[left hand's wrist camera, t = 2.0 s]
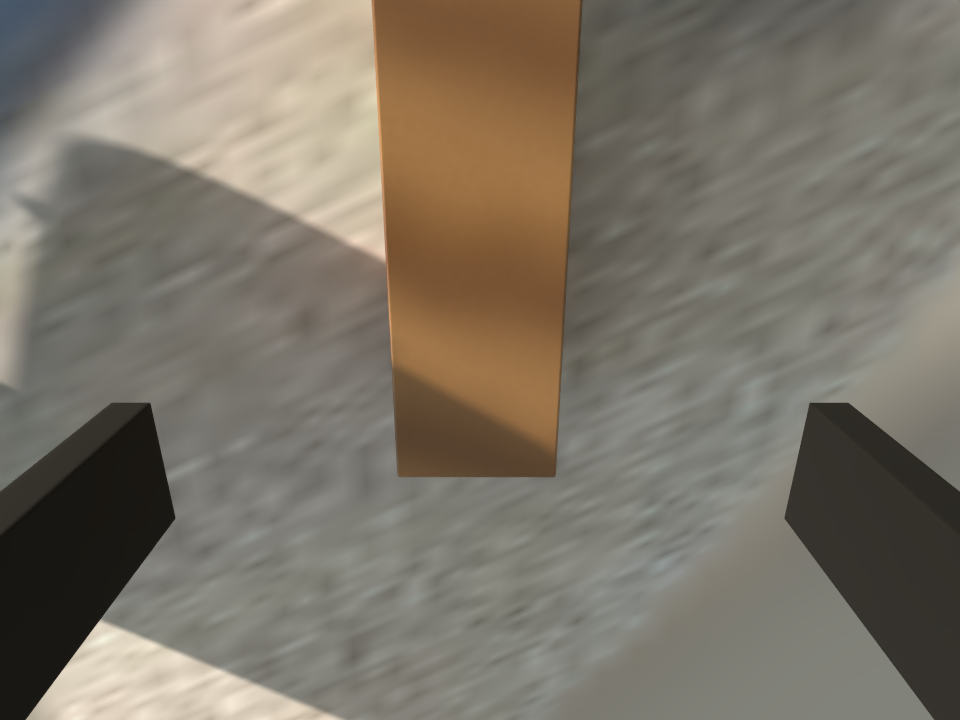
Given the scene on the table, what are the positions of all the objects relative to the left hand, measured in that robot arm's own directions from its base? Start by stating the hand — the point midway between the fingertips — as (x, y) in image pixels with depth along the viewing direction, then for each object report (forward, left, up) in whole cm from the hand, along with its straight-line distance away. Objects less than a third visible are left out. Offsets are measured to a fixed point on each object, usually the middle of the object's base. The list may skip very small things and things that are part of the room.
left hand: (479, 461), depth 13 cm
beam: (+11, +34, -16) cm, 39 cm away
